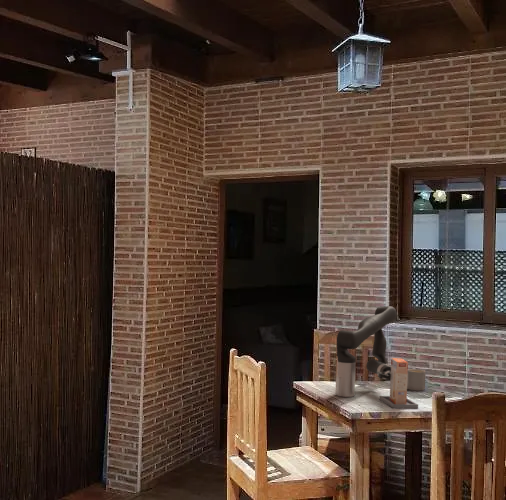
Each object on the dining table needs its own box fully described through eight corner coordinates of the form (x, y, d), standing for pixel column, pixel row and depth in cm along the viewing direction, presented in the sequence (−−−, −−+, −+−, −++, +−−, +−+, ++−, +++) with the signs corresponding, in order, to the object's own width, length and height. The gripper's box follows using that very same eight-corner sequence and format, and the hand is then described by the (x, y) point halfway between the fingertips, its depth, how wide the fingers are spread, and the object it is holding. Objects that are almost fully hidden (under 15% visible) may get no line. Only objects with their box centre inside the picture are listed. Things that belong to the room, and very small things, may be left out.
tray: (392, 408, 316) (392, 404, 316) (379, 399, 336) (379, 396, 336) (418, 408, 318) (418, 404, 318) (403, 399, 337) (403, 396, 337)
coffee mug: (423, 387, 374) (424, 369, 374) (426, 390, 364) (426, 372, 364) (399, 386, 375) (400, 368, 376) (401, 389, 366) (401, 371, 366)
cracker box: (407, 405, 321) (408, 362, 321) (394, 405, 321) (395, 361, 321) (401, 399, 335) (402, 357, 335) (389, 399, 335) (390, 357, 335)
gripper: (373, 364, 344) (383, 370, 328) (399, 365, 346) (411, 370, 330) (372, 379, 344) (383, 385, 328) (399, 379, 346) (410, 385, 330)
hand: (397, 377), depth 329 cm, fingers open, 8 cm apart
